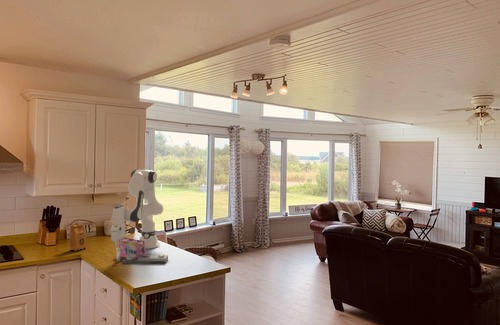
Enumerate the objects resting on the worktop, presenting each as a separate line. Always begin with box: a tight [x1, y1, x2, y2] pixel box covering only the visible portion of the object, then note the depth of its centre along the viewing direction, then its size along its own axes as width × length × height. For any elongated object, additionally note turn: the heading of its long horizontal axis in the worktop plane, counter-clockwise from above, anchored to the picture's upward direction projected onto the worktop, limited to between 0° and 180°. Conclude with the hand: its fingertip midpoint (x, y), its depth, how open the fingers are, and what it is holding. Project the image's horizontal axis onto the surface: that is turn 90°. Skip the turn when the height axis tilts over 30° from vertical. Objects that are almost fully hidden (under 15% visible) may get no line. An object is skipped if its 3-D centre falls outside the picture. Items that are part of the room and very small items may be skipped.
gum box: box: [118, 237, 146, 259], centre depth 290 cm, size 24×8×14 cm, turn 57°
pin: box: [115, 247, 122, 263], centre depth 279 cm, size 4×4×10 cm
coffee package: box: [69, 223, 87, 252], centre depth 316 cm, size 10×12×22 cm
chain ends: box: [121, 254, 169, 265], centre depth 276 cm, size 9×32×5 cm, turn 89°
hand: (118, 245), depth 278 cm, fingers open, 8 cm apart
